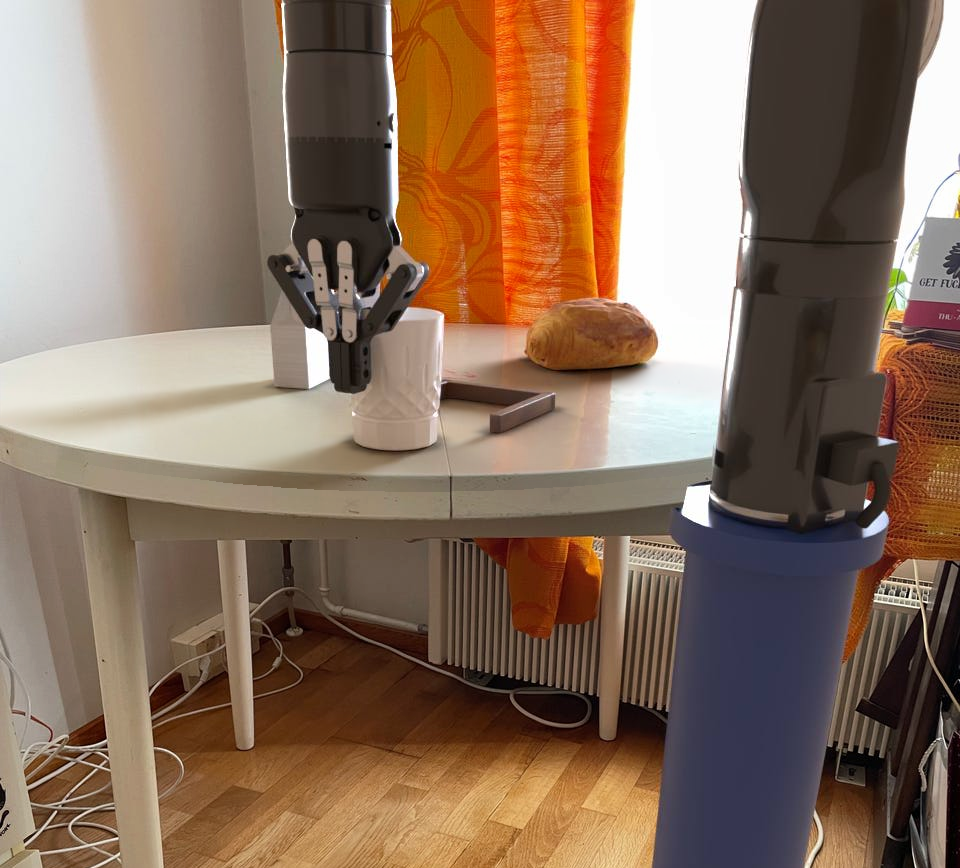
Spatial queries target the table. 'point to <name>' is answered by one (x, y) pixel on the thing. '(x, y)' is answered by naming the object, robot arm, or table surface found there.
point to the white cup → (402, 385)
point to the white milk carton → (297, 350)
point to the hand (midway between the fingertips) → (351, 391)
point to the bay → (502, 401)
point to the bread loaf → (590, 335)
